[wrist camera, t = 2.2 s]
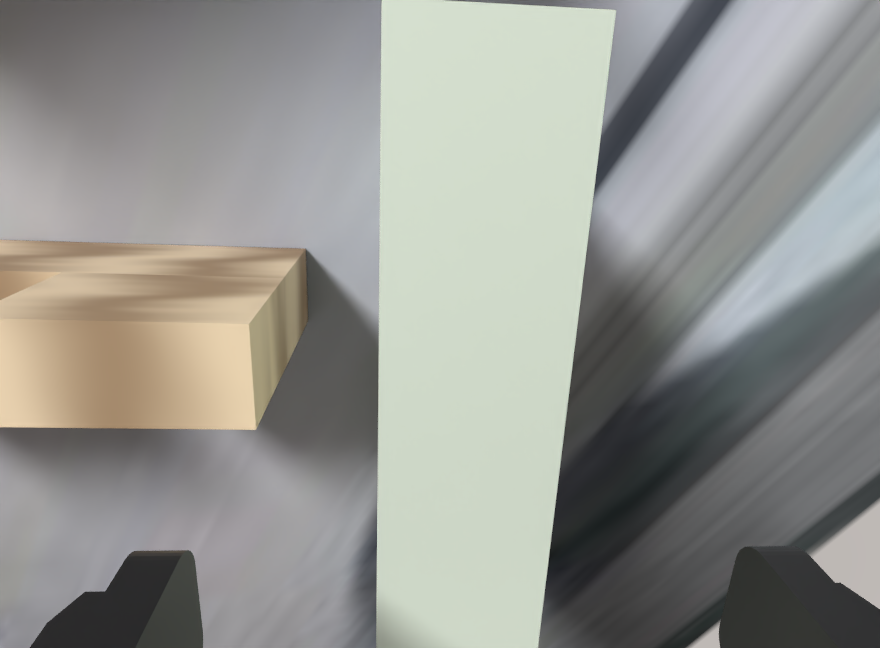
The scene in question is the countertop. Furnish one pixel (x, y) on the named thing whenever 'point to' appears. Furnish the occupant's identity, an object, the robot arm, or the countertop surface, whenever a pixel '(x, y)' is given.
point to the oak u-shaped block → (145, 333)
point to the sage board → (479, 305)
